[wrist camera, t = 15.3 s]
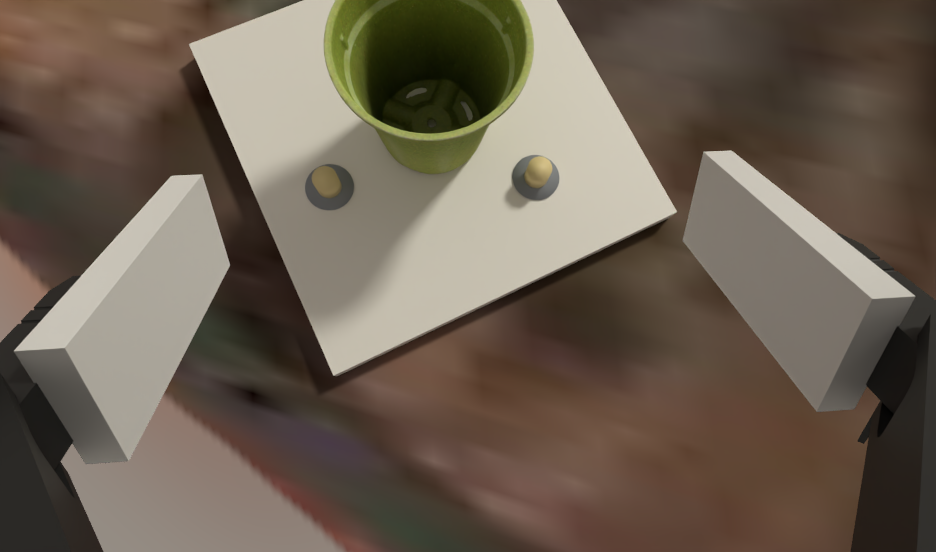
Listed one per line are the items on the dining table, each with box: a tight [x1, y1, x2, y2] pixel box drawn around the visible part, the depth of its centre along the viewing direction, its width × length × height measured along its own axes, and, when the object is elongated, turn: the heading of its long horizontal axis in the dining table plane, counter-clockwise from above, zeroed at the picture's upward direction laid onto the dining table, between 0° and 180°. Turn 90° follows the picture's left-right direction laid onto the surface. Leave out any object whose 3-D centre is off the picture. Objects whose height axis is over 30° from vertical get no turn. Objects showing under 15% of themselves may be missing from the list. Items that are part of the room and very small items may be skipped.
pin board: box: [189, 0, 677, 376], centre depth 33 cm, size 22×22×3 cm
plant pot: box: [324, 0, 534, 174], centre depth 29 cm, size 9×9×9 cm
